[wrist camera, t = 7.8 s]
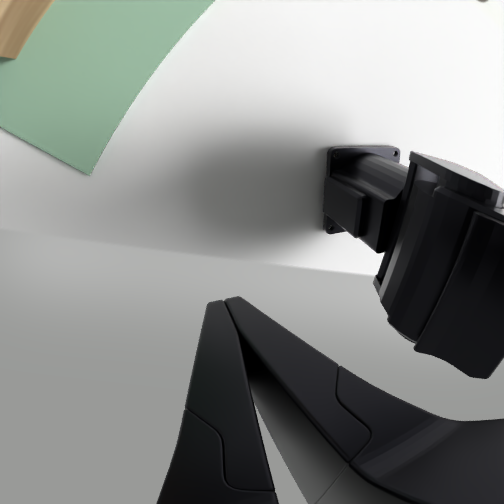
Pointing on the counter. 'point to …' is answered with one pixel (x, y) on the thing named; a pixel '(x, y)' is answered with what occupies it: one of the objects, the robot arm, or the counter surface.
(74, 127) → the mat
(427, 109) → the counter surface
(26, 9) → the bookend
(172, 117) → the counter surface
